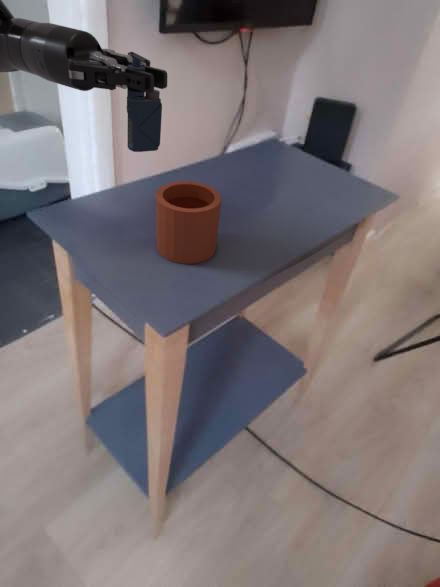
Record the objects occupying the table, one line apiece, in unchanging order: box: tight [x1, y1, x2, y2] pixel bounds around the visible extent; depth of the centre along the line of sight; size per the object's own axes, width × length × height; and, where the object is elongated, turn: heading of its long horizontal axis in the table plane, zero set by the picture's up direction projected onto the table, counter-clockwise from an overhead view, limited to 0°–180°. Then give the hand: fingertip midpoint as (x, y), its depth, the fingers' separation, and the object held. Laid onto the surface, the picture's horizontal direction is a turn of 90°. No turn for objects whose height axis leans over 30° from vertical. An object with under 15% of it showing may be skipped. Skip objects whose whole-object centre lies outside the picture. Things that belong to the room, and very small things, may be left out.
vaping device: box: [126, 58, 163, 153], centre depth 56 cm, size 3×5×12 cm, turn 125°
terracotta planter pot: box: [155, 180, 222, 265], centre depth 67 cm, size 11×11×10 cm
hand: (158, 82), depth 52 cm, fingers closed on vaping device, 2 cm apart
